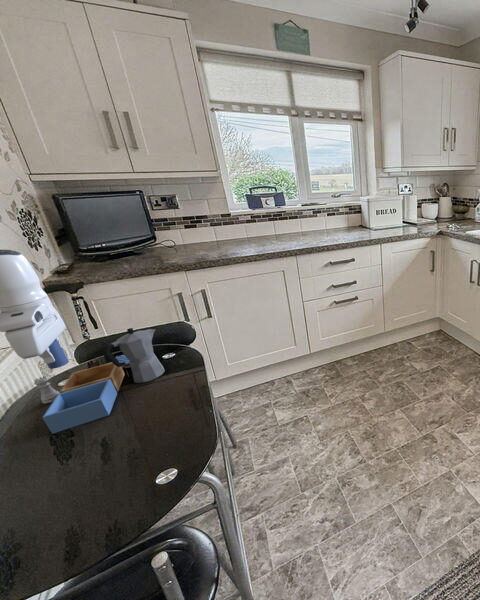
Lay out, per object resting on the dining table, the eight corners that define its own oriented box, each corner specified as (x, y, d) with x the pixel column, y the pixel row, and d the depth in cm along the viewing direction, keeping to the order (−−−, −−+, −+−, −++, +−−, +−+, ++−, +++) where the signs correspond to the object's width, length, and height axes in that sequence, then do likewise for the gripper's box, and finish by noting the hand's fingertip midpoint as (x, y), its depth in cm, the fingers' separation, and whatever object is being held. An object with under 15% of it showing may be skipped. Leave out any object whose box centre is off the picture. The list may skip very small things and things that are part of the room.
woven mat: (149, 352, 128) (147, 348, 128) (141, 365, 119) (139, 360, 118) (117, 360, 125) (114, 355, 124) (106, 373, 115) (104, 369, 115)
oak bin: (68, 406, 99) (59, 391, 97) (79, 387, 109) (72, 373, 107) (118, 391, 104) (111, 376, 102) (124, 374, 114) (118, 360, 112)
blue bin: (52, 434, 88) (42, 417, 86) (66, 409, 98) (58, 393, 96) (109, 415, 93) (101, 399, 91) (117, 393, 103) (110, 378, 101)
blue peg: (46, 370, 87) (33, 347, 85) (52, 364, 91) (39, 342, 88) (66, 365, 89) (54, 343, 87) (70, 359, 92) (59, 337, 90)
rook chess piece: (59, 400, 103) (47, 378, 100) (40, 406, 100) (27, 384, 97) (63, 393, 106) (51, 372, 103) (44, 399, 104) (32, 378, 101)
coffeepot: (162, 362, 120) (143, 318, 113) (177, 367, 115) (159, 321, 109) (113, 387, 107) (89, 338, 100) (127, 393, 103) (104, 343, 96)
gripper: (29, 303, 91) (53, 346, 96) (-8, 328, 74) (23, 379, 79) (59, 297, 94) (80, 339, 99) (30, 320, 77) (57, 370, 82)
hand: (54, 357), depth 89 cm, fingers closed on blue peg, 4 cm apart
